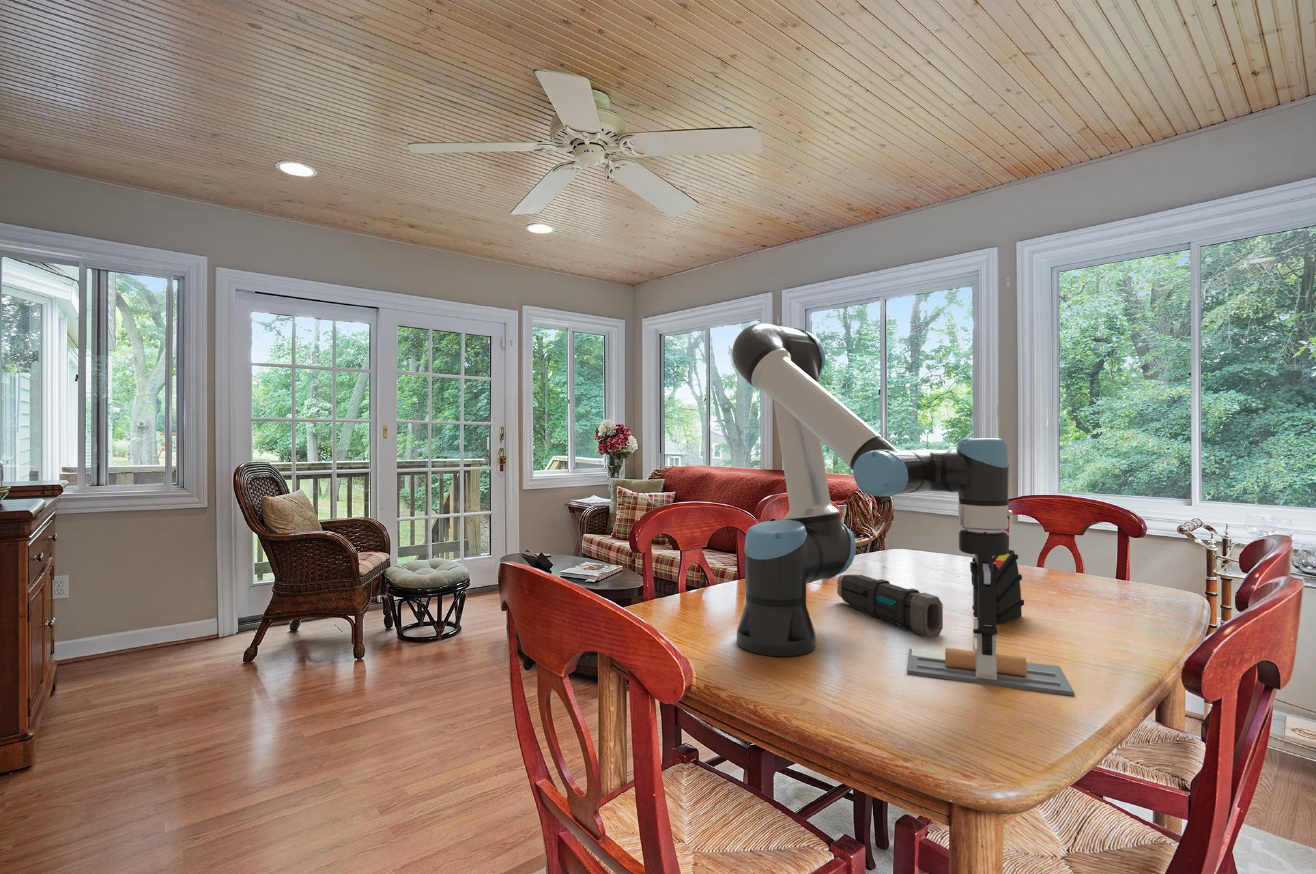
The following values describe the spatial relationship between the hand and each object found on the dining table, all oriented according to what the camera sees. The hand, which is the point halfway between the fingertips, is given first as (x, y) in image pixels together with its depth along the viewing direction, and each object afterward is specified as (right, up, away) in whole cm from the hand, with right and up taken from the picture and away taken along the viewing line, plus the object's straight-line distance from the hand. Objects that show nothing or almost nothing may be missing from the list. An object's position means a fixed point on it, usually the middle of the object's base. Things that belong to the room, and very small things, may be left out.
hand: (984, 664), depth 106 cm
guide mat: (+1, -2, +1) cm, 2 cm away
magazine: (+20, -2, +32) cm, 38 cm away
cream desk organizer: (0, -1, 0) cm, 1 cm away
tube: (-5, -2, +34) cm, 35 cm away
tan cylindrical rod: (0, -1, 0) cm, 1 cm away
